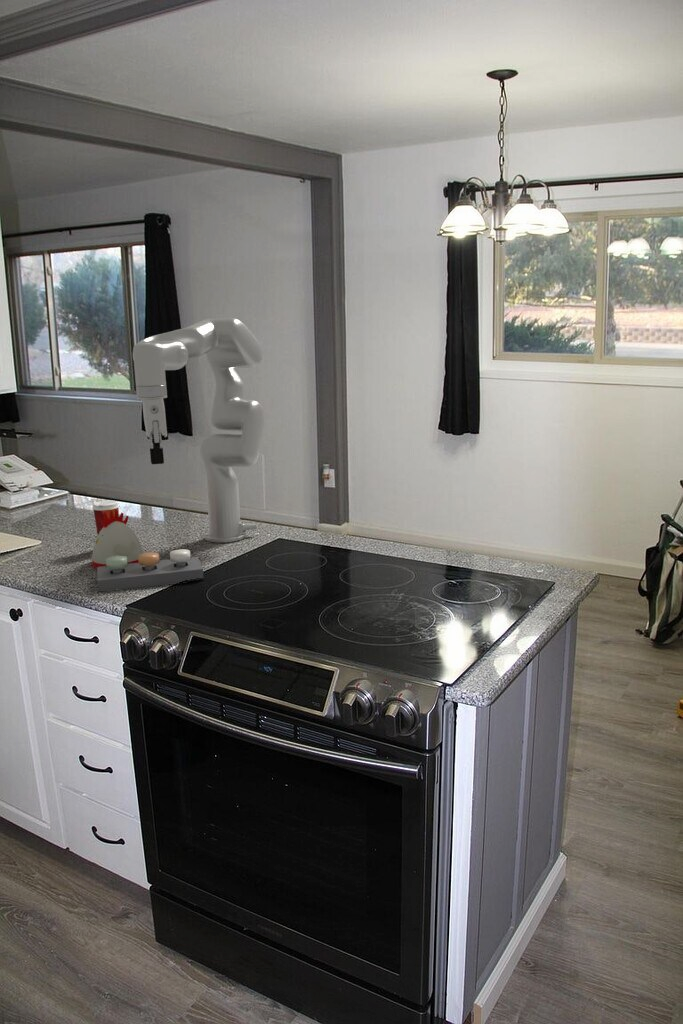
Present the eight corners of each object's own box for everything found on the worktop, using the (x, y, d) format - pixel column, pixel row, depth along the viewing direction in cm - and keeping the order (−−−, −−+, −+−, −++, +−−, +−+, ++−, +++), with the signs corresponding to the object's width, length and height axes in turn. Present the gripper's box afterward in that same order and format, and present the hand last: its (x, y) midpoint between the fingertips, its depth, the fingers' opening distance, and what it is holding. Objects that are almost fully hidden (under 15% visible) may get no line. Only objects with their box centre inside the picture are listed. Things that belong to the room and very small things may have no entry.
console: (198, 567, 229) (197, 556, 228) (203, 580, 218) (202, 569, 217) (98, 578, 222) (97, 567, 221) (98, 591, 211) (97, 580, 210)
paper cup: (116, 553, 245) (111, 506, 241) (91, 552, 246) (86, 505, 243) (128, 545, 252) (123, 500, 249) (104, 545, 254) (99, 499, 250)
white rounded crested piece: (85, 562, 237) (79, 510, 234) (131, 552, 245) (126, 502, 242) (104, 573, 226) (99, 518, 223) (152, 563, 234) (147, 510, 231)
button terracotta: (159, 569, 223) (158, 551, 221) (161, 575, 218) (159, 556, 217) (139, 572, 221) (137, 553, 220) (140, 577, 216) (138, 559, 215)
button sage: (128, 573, 220) (126, 554, 219) (129, 579, 216) (127, 560, 214) (107, 575, 219) (105, 556, 218) (107, 581, 214) (106, 562, 213)
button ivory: (190, 566, 225) (188, 548, 223) (192, 572, 220) (191, 553, 219) (170, 568, 223) (168, 550, 222) (172, 574, 218) (170, 555, 217)
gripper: (169, 394, 210) (174, 467, 214) (164, 389, 224) (169, 457, 228) (138, 395, 208) (144, 469, 212) (135, 390, 222) (141, 460, 226)
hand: (157, 463), depth 220 cm, fingers closed
